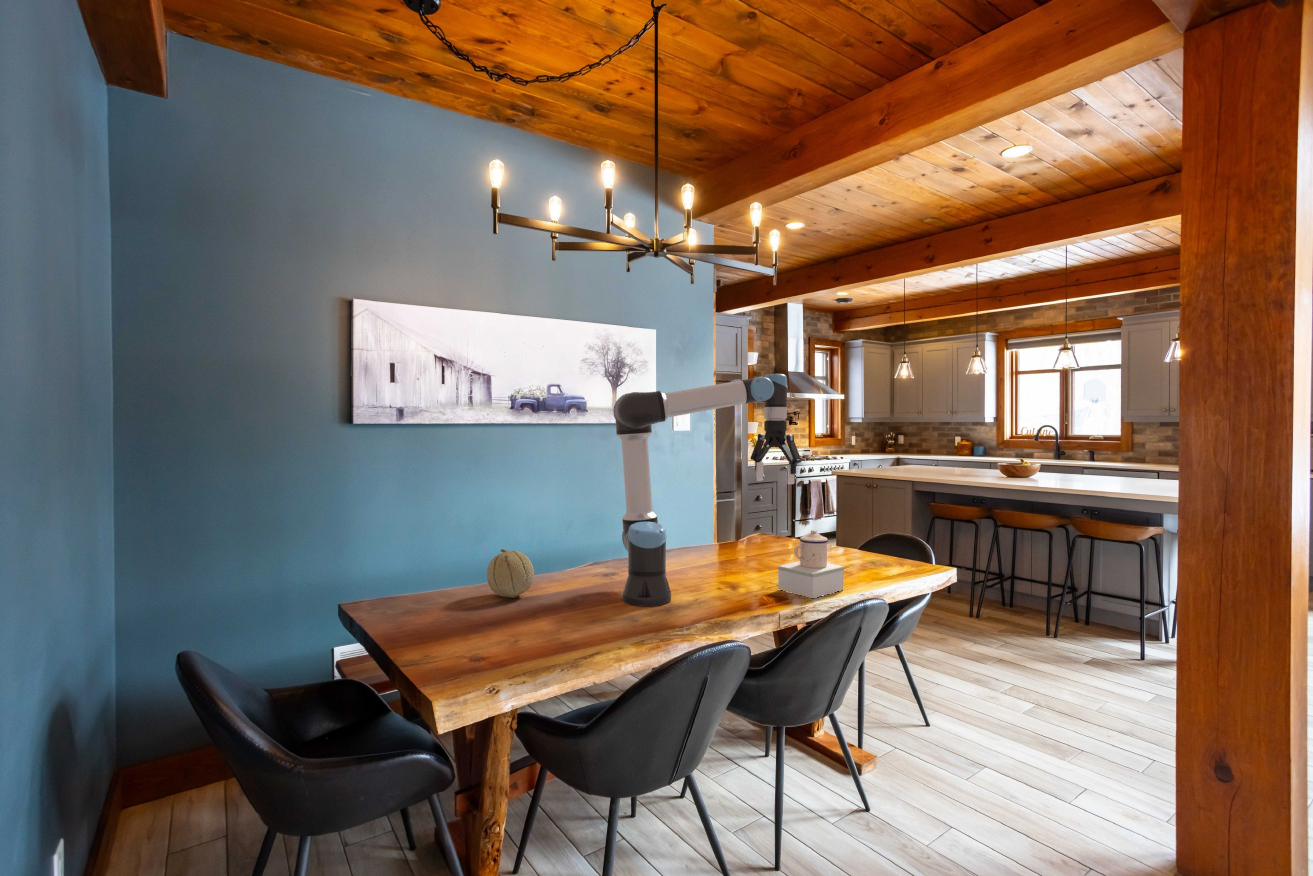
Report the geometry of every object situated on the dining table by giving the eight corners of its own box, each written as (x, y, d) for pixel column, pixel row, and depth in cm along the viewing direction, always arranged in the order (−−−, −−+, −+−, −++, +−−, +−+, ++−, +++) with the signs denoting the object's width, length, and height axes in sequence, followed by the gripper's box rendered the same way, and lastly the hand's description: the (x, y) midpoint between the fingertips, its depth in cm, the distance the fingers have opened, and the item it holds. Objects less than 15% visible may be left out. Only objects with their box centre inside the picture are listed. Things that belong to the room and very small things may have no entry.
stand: (777, 590, 218) (778, 565, 218) (808, 582, 228) (808, 559, 228) (813, 599, 207) (813, 573, 207) (843, 590, 217) (844, 566, 217)
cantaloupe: (529, 603, 202) (529, 554, 201) (481, 603, 202) (481, 554, 201) (538, 590, 217) (538, 545, 216) (493, 590, 216) (492, 544, 216)
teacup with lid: (815, 561, 224) (816, 527, 224) (833, 567, 216) (833, 531, 216) (786, 564, 219) (786, 529, 219) (803, 570, 211) (803, 534, 211)
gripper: (812, 420, 217) (811, 484, 218) (755, 419, 236) (754, 479, 237) (798, 420, 212) (797, 486, 213) (740, 419, 231) (740, 480, 232)
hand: (775, 482), depth 225 cm, fingers open, 13 cm apart
